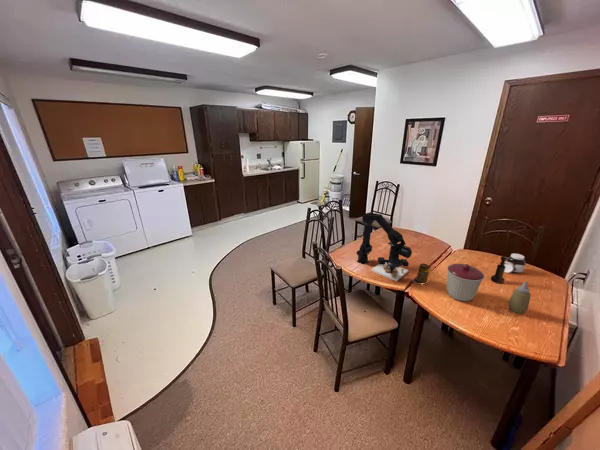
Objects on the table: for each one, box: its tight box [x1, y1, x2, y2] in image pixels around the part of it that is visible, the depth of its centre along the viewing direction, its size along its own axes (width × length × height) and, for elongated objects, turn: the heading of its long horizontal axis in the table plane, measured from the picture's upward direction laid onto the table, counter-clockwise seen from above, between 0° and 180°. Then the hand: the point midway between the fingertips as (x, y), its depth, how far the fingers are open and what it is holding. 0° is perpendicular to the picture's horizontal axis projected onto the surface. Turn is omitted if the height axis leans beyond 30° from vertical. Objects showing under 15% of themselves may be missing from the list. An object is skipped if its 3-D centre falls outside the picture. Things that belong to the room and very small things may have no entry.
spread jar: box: [504, 253, 527, 274], centre depth 164 cm, size 12×11×12 cm
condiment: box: [411, 263, 430, 285], centre depth 156 cm, size 7×8×12 cm
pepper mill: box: [490, 255, 508, 284], centre depth 153 cm, size 7×6×18 cm
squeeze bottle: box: [507, 281, 532, 315], centre depth 127 cm, size 8×8×18 cm
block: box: [383, 265, 398, 277], centre depth 167 cm, size 14×8×3 cm, turn 177°
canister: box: [446, 263, 486, 302], centre depth 139 cm, size 18×18×21 cm
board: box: [371, 262, 409, 282], centre depth 170 cm, size 19×17×5 cm
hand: (391, 273), depth 162 cm, fingers closed
